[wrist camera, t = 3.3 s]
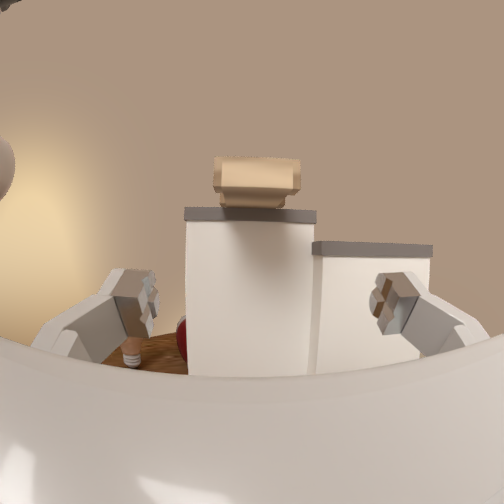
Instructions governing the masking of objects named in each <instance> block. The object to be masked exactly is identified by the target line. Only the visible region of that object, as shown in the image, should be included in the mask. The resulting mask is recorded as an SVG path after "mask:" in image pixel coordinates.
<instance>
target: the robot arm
mask: <svg viewBox="0 0 504 504" xmlns="http://www.w3.org/2000/svg"><path fill="white" fill-rule="evenodd" d="M18 1H21V0H0V13H1V11H2V12H3V11H5V10H7V9H8V8H9V6H10V5H11V4H13V3H16V2H18ZM14 172H15V159H14V154H13V150H12V148H11V146H10V145H9V143H8V142H7V141H5V140H4V139H3V138H2V137H1V136H0V200H1V199H2V198H3V197H4V196H5V195H6V193H7V192H8V190H9V188H10V186H11V183H12V180H13V177H14ZM155 282H156V279H155V274H154V272H153V271H152V270H138V269H137V270H136V269H118V268H115V269H113V270H112V271H111V273H110V274H109V276H108V277H107V279H106V281H105V282H104V284H103V285H102V287H101V288H100V290H99V291H98V293H97V295H91V296H90V297H88V298H86V299H84V300H83V301H81V302H79V303H78V304H76V305H74V306H73V307H71V308H69V309H68V310H66V311H64V312H63V313H61V314H59V315H58V316H56V317H54V318H53V319H51V320H50V321H48V322H46V323H45V324H44V325H43V326H42V328H41V329H40V331H39V333H38V334H37V336H36V337H35V339H34V341H33V342H32V344H31V346H27V345H24V344H21V343H18V342H15V341H12V340H9V339H6V338H3V337H1V336H0V504H504V333H503V334H500V335H498V336H495V337H492V338H490V337H489V336H488V334H487V333H486V331H485V330H484V329H483V327H482V326H481V324H480V323H479V322H478V320H476V319H475V318H473V317H471V316H469V315H468V314H466V313H465V312H463V311H461V310H460V309H458V308H456V307H454V306H453V305H451V304H449V303H448V302H446V301H444V300H442V299H441V298H439V297H437V296H435V295H431V294H430V292H429V291H428V290H427V288H426V287H425V286H424V285H423V283H422V282H421V281H420V280H419V279H418V277H417V276H416V275H415V274H414V273H413V272H411V271H408V272H394V273H379V274H378V275H377V277H376V280H375V284H376V288H375V289H374V290H373V291H372V292H371V295H370V298H369V307H370V311H371V313H372V315H373V316H374V317H376V318H377V319H378V320H377V325H378V327H379V329H380V331H381V333H382V335H393V334H401V335H402V336H403V337H404V338H405V339H406V340H407V341H409V342H410V343H411V344H412V345H413V346H414V347H415V348H417V349H418V350H419V351H420V352H421V353H422V354H423V355H425V356H426V357H424V358H420V359H415V360H411V361H406V362H401V363H396V364H390V365H385V366H379V367H372V368H366V369H359V370H351V371H343V372H334V373H325V374H313V375H300V376H281V377H213V376H194V375H180V374H169V373H159V372H150V371H142V370H135V369H128V368H122V367H116V366H110V365H104V364H100V363H102V362H103V361H104V360H105V359H106V358H107V357H108V356H109V355H110V354H111V353H112V352H113V351H114V350H115V349H116V348H117V347H119V346H120V345H121V344H122V343H123V342H124V341H125V340H126V339H127V337H136V338H149V339H150V336H151V333H152V330H153V327H154V324H153V319H154V318H155V317H156V316H157V314H158V311H159V294H158V290H157V289H156V288H155V287H154V284H155Z"/></svg>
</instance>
